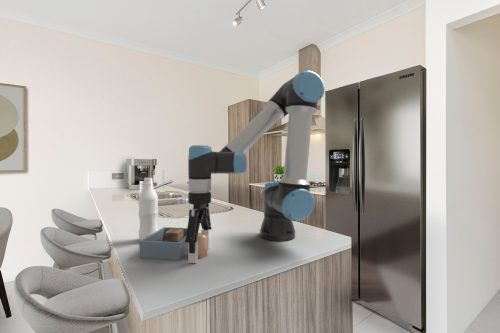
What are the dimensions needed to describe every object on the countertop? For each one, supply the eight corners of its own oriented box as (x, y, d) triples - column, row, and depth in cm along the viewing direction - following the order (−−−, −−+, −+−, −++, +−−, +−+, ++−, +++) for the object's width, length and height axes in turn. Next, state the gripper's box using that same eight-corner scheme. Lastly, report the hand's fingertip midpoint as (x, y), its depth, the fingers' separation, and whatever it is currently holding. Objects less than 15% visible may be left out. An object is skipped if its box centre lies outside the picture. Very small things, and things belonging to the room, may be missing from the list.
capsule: (208, 253, 87) (209, 233, 87) (204, 258, 82) (204, 237, 82) (195, 252, 88) (195, 232, 88) (190, 257, 83) (190, 236, 83)
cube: (183, 242, 97) (183, 229, 97) (177, 246, 92) (177, 233, 92) (171, 241, 98) (171, 228, 97) (164, 246, 93) (164, 232, 92)
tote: (197, 242, 98) (197, 228, 98) (179, 260, 81) (179, 243, 81) (163, 240, 100) (163, 227, 100) (139, 257, 83) (139, 241, 82)
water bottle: (151, 243, 96) (151, 178, 96) (134, 242, 98) (134, 178, 97) (161, 238, 103) (161, 177, 103) (145, 237, 105) (145, 177, 104)
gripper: (200, 187, 97) (199, 242, 98) (174, 196, 73) (173, 269, 73) (219, 187, 96) (218, 243, 97) (199, 197, 72) (198, 271, 73)
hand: (199, 254), depth 85 cm, fingers open, 12 cm apart
